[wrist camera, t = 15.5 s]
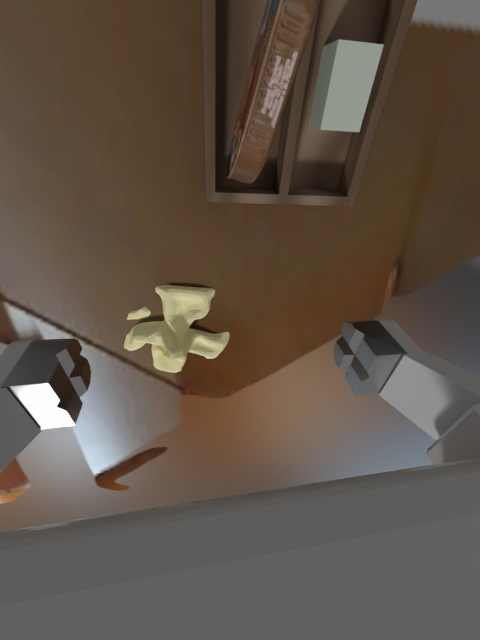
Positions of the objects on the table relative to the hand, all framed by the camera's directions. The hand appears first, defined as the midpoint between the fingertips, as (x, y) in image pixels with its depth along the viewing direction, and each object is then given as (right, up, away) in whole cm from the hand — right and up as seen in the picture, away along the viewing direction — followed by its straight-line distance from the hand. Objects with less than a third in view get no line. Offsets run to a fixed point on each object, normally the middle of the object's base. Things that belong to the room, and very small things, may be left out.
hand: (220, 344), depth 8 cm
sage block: (+10, +24, +18) cm, 31 cm away
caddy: (+5, +24, +18) cm, 31 cm away
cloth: (-12, -1, +38) cm, 39 cm away
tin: (+3, +23, +17) cm, 29 cm away
